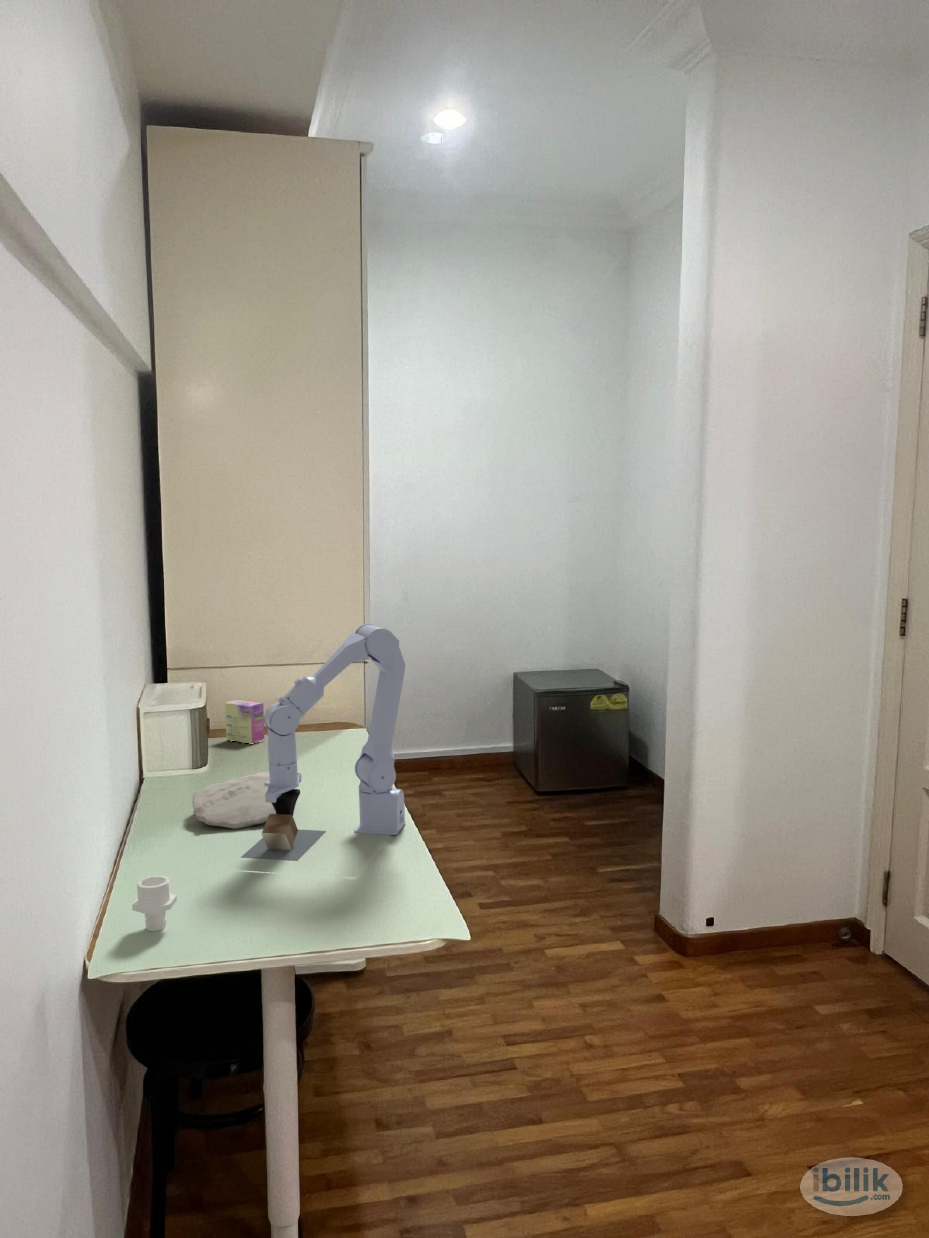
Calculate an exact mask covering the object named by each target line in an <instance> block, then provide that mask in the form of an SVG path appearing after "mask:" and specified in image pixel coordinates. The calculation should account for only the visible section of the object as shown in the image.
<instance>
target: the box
mask: <svg viewBox="0 0 929 1238" xmlns="http://www.w3.org/2000/svg"><path fill="white" fill-rule="evenodd" d="M224 714H225V740H226V739H228V740H233V741H239V742H243V743H242V744H244V743H256V742H258V741H261V740H263V739H264V740H265V723H264V721H263V717H264V715H265V712H264V702H257V701H249V700H241V699H235V700H230V701H227V702H225V703H224Z"/></svg>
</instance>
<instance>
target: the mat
mask: <svg viewBox="0 0 929 1238" xmlns="http://www.w3.org/2000/svg"><path fill="white" fill-rule="evenodd" d="M297 829H298V832H297V835H296V838H295V841H294V843H293V846H292V849H291V850H276V849H268V848H267V846H266V843H265V841H264V838H263V837H262V838H261V839H259V840H258V841H257V842H256V843H255V844H254V845H253V846H252V847H251V848H249V849H248V850H247V851H246V852H245V853H244V854H242V856H240V858H244V859H258V860H259V859H261V860H278V861H279V860H280V861H293V862H294V861H295V862H298V861H299V860H300V859H301V858H302V857H303V856H304V855H305V854H306V853H307V852H308V851H309V850H310V849H311V848H312V846H314V844H316V843H317V841H319V840H320V838H321V837H323V835H325V833H327V830H316V829H312V830H311V829H299V828H297Z"/></svg>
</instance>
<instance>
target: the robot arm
mask: <svg viewBox="0 0 929 1238" xmlns="http://www.w3.org/2000/svg"><path fill="white" fill-rule="evenodd" d="M367 660H371V662H372V663H374V664H375V666H376V667H377V668H378V671H379V674H378V680H377V684H376V685H377V686H376V691H375V697H374V704H373V708H372V714H371V719H370V723H369V724H370V726H369V730H368V737H367V741H366V743H365V744H364V745H363V746H362V748H361V754H360V756H359V757H358V759H357V760H356V761H355V765H354V773H355V776H356V777H357V778H358V779H359V781H360V782H359V785H358V797H359V798H358V803H359V805H358V806H359V824H358V825H357V826H356V827H355V829H354V830H353V832H354V833H355V834H372V835H373V834H374V835H391V836H395V835H396V836H397V835H398V833H399V832H400V831H401V829H402V828H403V827H404V826H405V825H406V820H405V819H406V817H405V816H406V815H405V814H406V813H405V795H404V794H405V793H404V791H403V789H401V788H394V787H393V785H394V784H395V782H396V778H397V772H396V769H395V762H396V761H395V760H396V759H395V755H394V751H393V740H394V734H395V730H396V723H397V718H398V712H399V705H400V702H401V701H400V699H401V696H402V695H401V694H402V688H403V682H404V677H405V670H406V662H405V660H404V657H403V653H402V651H401V649H400V640H399V639H398V638H397V637H396V635H394V633H393V632H392V631H391V630H390V629H387V628H382V627H379V626H376V625H374V624H371V623H365V624H362V625H360V626H359V627H357V628H356V630H355V631H354V632H352V633H350V634H349V635H348V636H347V638H345V640H344V641H343V643H342V644H341V645H340V646H339V647H338V648H337V649H336V651H334V653H333V654H332V655H331V656H330V657H329V658H328V659H327V660H326V661H325V662H324V663H323V664H322V665H321V666H320V668H319V669H318V670H317V671H316V672H315V673H314V674H313V675H311V676H310V675H309V676H303V677H302V678H301V679H300V678H297V679H295V681H294V682H293V683H294V685H293V686H292V687H291V689H290V690H288V691H287V692H286V693H285V694H284V695H283V696H279V698H278V699H277V702H276V703H272V704H271V705H269V706H268V707H267V709H265V712H264V717H263V721H264V726H266V727H267V757H268V772H269V780H270V781H266V782H265V783H264V786H268V790H267V792H266V793H265V800H266V802H270V803H272V805H273V807H274V809H275V811H276V814H282V815H293V816H294V812H295V809H296V805H297V802H298V798H299V797H300V794H301V790H300V789H298V787H299V786H300V783H302V772H298V758H297V757H298V756H297V739H296V730H297V729H298V727H299V725H300V720H301V718H303V717H304V716H305V715H306V714H307V713H308V712H309V711H311V709H312V708H313V707H314V706H315V705H316V704H317V703H318V702H319V701H320V700H321V699H323V697H324V695H325V693H324V692H325V687H326V686H327V685H329V684H330V683H331V682H332V681H334V679H335V678H336V677H338V676H339V675H340V674H341V673H342V672H343V671H344V670H345V669H346V668H348V667H349V666H350V665H351V664H353V663H354V662H359V661H360V662H361V661H362V662H363V661H367Z"/></svg>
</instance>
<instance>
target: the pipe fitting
mask: <svg viewBox="0 0 929 1238" xmlns="http://www.w3.org/2000/svg"><path fill="white" fill-rule="evenodd" d="M136 889H137V892H136V894H137V898H136V899H135V900H134V901H133V902H132V904H131V908H132V911H134V912H137V913H141V914H144V918H145V922H144V923H145V927H146V928H145V929H146V930H147V931H149V932H157V931H158V932H159V931H162V930H163V929H165V928H166V927H167V917H166V913H167V911H169V910H172V908H173V907H174V905H175V904H176V902H177V901H178V899H177V894H174V893H171V880H170V878H169V877H168V876H166V875H151V876H147V877H144V878H142V879H140V880H139V881H137V882H136Z"/></svg>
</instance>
